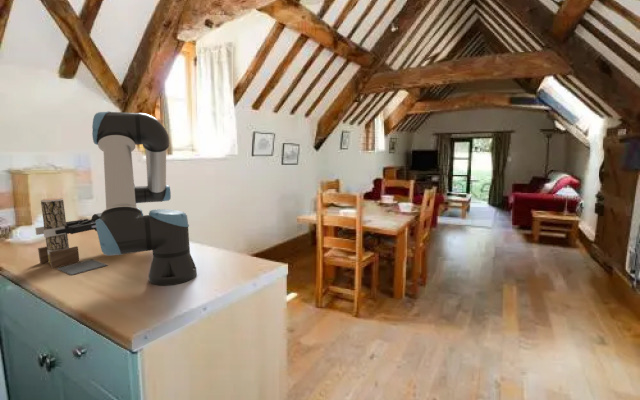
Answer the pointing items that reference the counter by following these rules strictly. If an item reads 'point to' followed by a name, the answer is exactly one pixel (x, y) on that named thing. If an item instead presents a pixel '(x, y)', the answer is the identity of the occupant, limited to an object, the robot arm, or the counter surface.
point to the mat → (81, 267)
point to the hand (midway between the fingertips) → (40, 232)
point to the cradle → (59, 256)
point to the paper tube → (54, 223)
